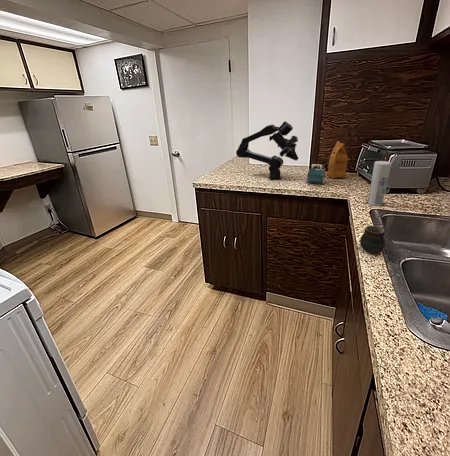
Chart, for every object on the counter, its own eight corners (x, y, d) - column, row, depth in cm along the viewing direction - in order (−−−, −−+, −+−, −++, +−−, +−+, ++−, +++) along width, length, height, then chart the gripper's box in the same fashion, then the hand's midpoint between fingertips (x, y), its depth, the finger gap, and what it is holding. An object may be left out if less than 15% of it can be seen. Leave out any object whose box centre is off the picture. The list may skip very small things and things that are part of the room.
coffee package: (341, 173, 167) (345, 140, 159) (346, 178, 156) (351, 143, 147) (325, 173, 169) (329, 140, 160) (329, 178, 158) (333, 144, 149)
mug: (324, 181, 153) (326, 163, 149) (322, 185, 147) (324, 166, 142) (309, 180, 158) (311, 162, 153) (306, 183, 151) (308, 165, 147)
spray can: (372, 199, 123) (380, 160, 115) (385, 204, 118) (394, 162, 110) (364, 202, 120) (371, 162, 113) (377, 207, 115) (385, 164, 107)
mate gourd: (387, 250, 83) (393, 224, 79) (376, 259, 79) (382, 231, 75) (365, 241, 88) (370, 216, 85) (354, 249, 84) (358, 223, 81)
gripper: (285, 133, 141) (303, 153, 140) (294, 129, 156) (310, 148, 155) (272, 147, 148) (289, 166, 147) (281, 142, 163) (297, 159, 162)
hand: (297, 159), depth 153 cm, fingers open, 3 cm apart
